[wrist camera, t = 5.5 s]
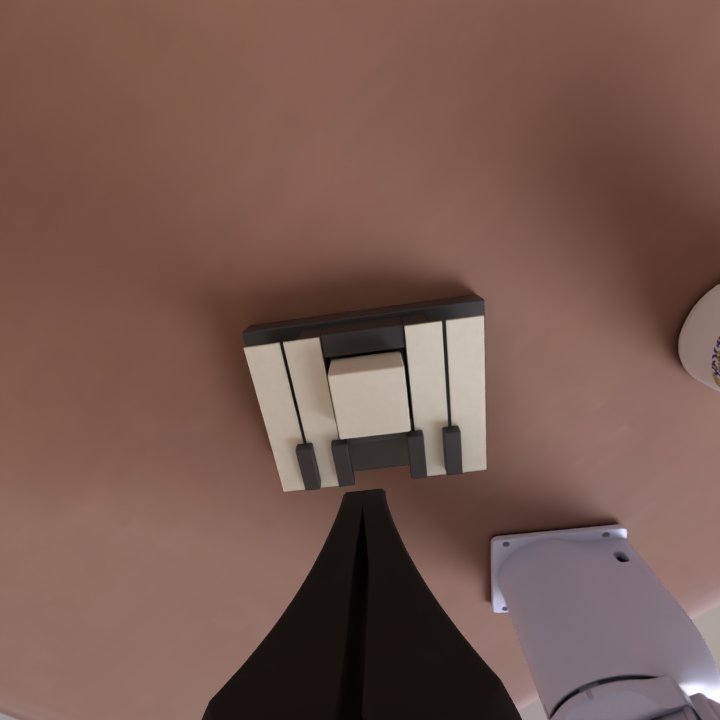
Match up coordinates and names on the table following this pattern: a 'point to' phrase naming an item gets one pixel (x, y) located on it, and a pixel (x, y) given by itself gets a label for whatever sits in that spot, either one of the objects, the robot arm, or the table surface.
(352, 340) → the toy piano
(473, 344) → the piano keys trim
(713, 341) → the bath foam
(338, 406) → the square cream block
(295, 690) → the robot arm
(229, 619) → the table surface
